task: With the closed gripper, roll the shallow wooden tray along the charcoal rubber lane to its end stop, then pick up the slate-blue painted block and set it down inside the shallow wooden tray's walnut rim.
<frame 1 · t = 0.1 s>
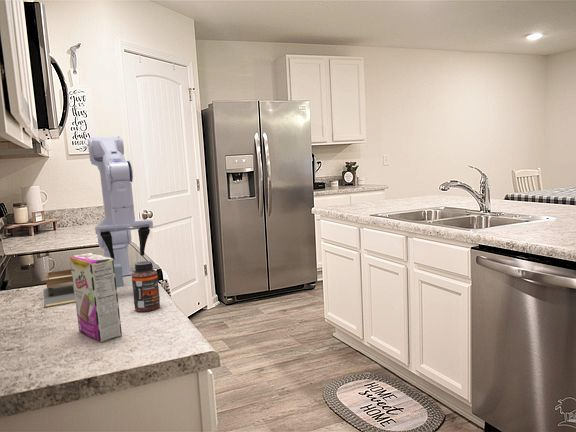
hand: (127, 257, 130), 10 cm above the worktop, fingers open, 7 cm apart
supplement bottle: (147, 309, 116), on the worktop
lane: (70, 293, 135), on the worktop
block: (114, 286, 141), on the worktop
shallow wooden tray: (68, 281, 138), point 3 cm above the worktop, slide at 0.0 cm
candy bar box: (99, 335, 100), on the worktop
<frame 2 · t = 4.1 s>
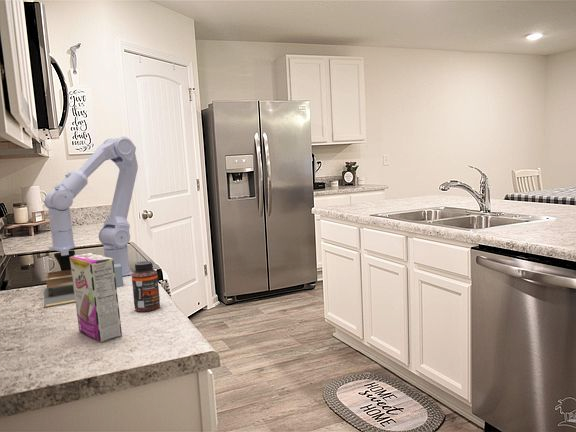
hand: (67, 275, 144), 3 cm above the worktop, fingers closed
shallow wooden tray: (68, 281, 138), point 3 cm above the worktop, slide at 0.3 cm, touching gripper
everything else where it was.
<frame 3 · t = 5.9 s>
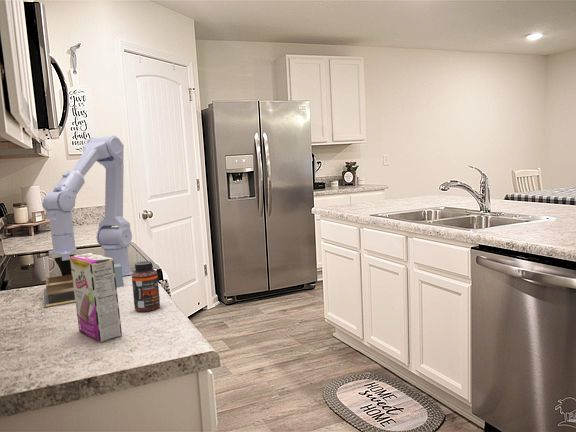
hand: (68, 281, 136), 3 cm above the worktop, fingers closed
shallow wooden tray: (69, 287, 131), point 3 cm above the worktop, slide at 8.1 cm, touching gripper
everything else where it was.
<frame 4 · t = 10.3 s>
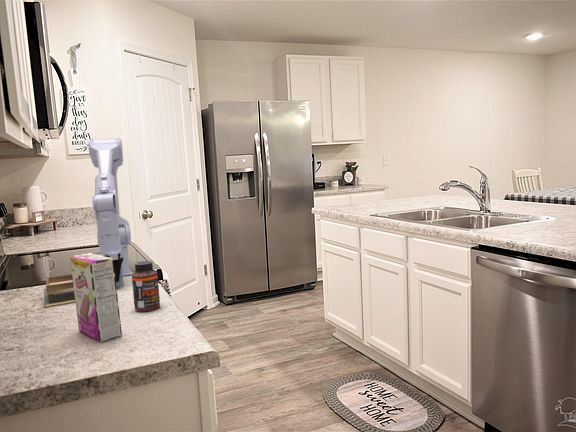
hand: (114, 280, 141), 2 cm above the worktop, fingers closed on block, 4 cm apart
block: (114, 285, 141), on the worktop, touching gripper
shallow wooden tray: (69, 287, 131), point 3 cm above the worktop, slide at 8.0 cm
everything else where it was.
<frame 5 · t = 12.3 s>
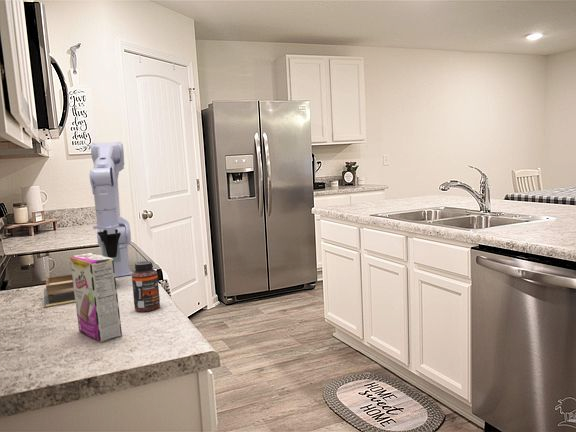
hand: (111, 256, 140), 9 cm above the worktop, fingers closed on block, 4 cm apart
block: (111, 261, 140), point 7 cm above the worktop, touching gripper
everything else where it was.
when the fingers open (6 cm above the worktop, at t = 14.8 s): block stays where it is, resting on shallow wooden tray.
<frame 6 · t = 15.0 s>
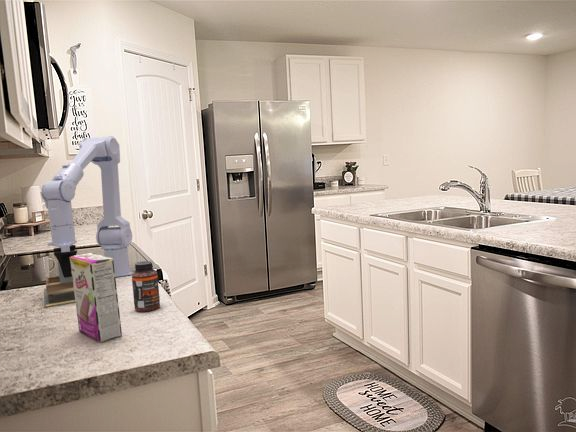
hand: (68, 274, 131), 6 cm above the worktop, fingers open, 6 cm apart
block: (69, 283, 131), point 4 cm above the worktop, touching shallow wooden tray
shallow wooden tray: (69, 287, 131), point 3 cm above the worktop, slide at 8.0 cm, touching block
everything else where it was.
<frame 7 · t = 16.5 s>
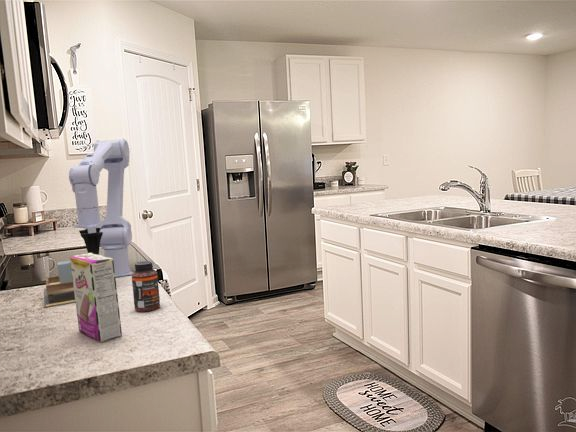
hand: (93, 255, 137), 10 cm above the worktop, fingers open, 7 cm apart
nothing on the worktop moved.
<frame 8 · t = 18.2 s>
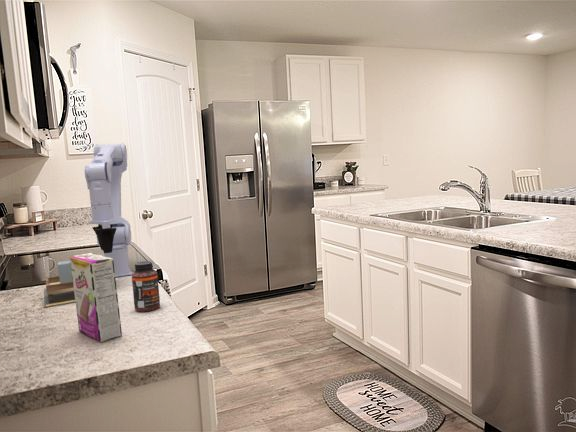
hand: (106, 251, 140), 10 cm above the worktop, fingers open, 7 cm apart
nothing on the worktop moved.
at the end: shallow wooden tray slide at 7.9 cm; block inside the target area (0.1 cm from its centre), point 3.7 cm above the worktop; block tilted 0° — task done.
